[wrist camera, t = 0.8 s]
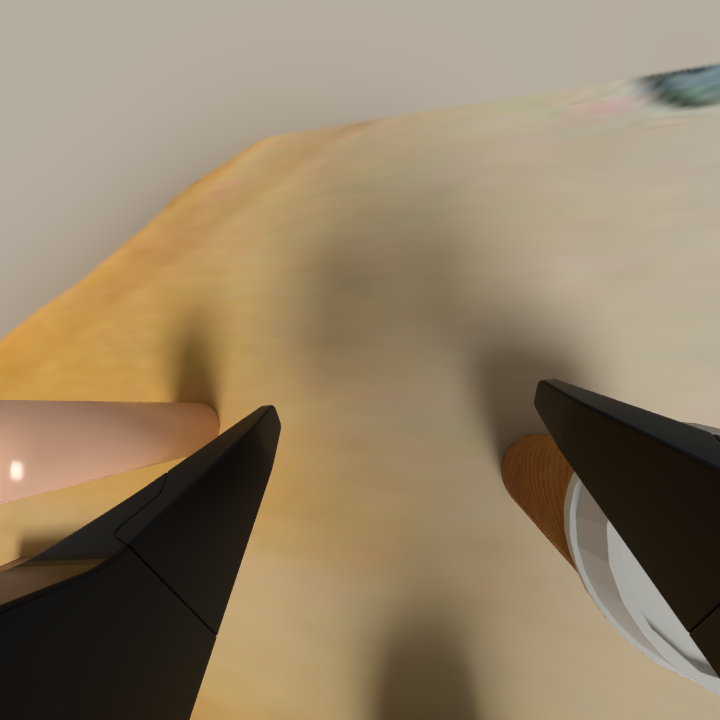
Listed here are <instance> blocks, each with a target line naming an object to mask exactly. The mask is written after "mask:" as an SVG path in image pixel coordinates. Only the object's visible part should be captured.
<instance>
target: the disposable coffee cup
mask: <svg viewBox="0 0 720 720" xmlns="http://www.w3.org/2000/svg"><path fill="white" fill-rule="evenodd" d="M682 423H685V422H682ZM685 424H688V425H691V426H694V427H696V428H699V429H702V430H705V431H708V432H711V433H712V434H717V435H720V429H718V428H714V427H710V426H705V425H701V424H696V423H685ZM502 476H503V481H504V484H505V487H506V489H507V491H508V492H509V494H510V495H511V497H512V498H513V499H514V501H515V502H516V503H517V504H518V505H519V506H520V507H521V508H522V509H523V511H524V512H525V513H526V514H527V515H528V516H529V517H530V519H531V520H532V521H533V522H534V523H535V524H536V526H537V527H538V528H539V529H540V530H541V532H542V533H543V534H544V535H545V536H546V537H547V538H548V539H549V540H550V542H551V543H552V544H553V545H554V546H555V547H556V549H557V550H558V551H559V552H560V553H561V554H562V555H563V557H564V558H565V559H566V560H567V561H568V562H569V563H570V564H571V565H572V567H573V568H574V569H575V570H576V571H577V573H578V574H579V576H580V578H581V580H582V583H583V585H584V587H585V589H586V591H587V592H588V594H589V595H590V596H591V598H592V599H593V601H594V602H595V604H596V605H597V607H598V608H599V609H600V611H601V612H602V614H603V615H604V617H605V618H606V619H607V620H608V621H609V622H610V623H611V624H612V626H613V627H614V628H615V629H616V630H617V631H618V632H619V633H620V634H621V635H622V636H623V637H624V638H625V639H626V640H627V641H628V642H629V643H630V644H631V645H633V646H634V647H635V648H637V649H638V650H639V651H641V652H642V653H643V654H644V655H646V656H647V657H648V658H650V659H651V660H652V661H654V662H656V663H658V664H659V665H661V666H663V667H665V668H667V669H668V670H670V671H672V672H674V673H676V674H678V675H681V676H683V677H686V678H688V679H691V680H693V681H695V682H696V683H698V684H699V685H701V686H702V687H704V688H705V689H707V690H709V691H712V692H714V693H716V694H718V695H720V678H719V677H718V675H717V674H716V673H715V671H714V670H713V668H712V667H711V665H710V664H709V663H708V661H707V660H706V658H705V657H704V656H703V654H702V653H701V651H700V650H699V648H698V647H697V646H696V644H695V643H694V641H693V640H692V638H691V637H690V636H689V632H687V631H686V629H685V628H684V627H683V625H682V624H681V622H680V621H679V620H678V618H677V617H676V615H675V614H674V612H673V611H672V610H671V608H670V607H669V605H668V604H667V602H666V601H665V600H664V598H663V597H662V595H661V594H660V593H659V591H658V590H657V588H656V587H655V585H654V584H653V583H652V581H651V580H650V578H649V577H648V575H647V574H646V573H645V571H644V570H643V568H642V567H641V565H640V564H639V563H638V561H637V560H636V558H635V557H634V556H633V554H632V553H631V551H630V550H629V548H628V547H627V546H626V544H625V543H624V541H623V540H622V538H621V537H620V536H619V534H618V533H617V531H616V530H615V529H614V527H613V526H612V524H611V523H610V521H609V520H608V519H607V517H606V516H605V514H604V513H603V511H602V510H601V509H600V507H599V506H598V504H597V503H596V502H595V500H594V499H593V497H592V496H591V494H590V493H589V492H588V490H587V489H586V487H585V486H584V484H583V483H582V482H581V480H580V479H579V477H578V476H577V475H576V473H575V472H574V470H573V469H572V467H571V466H570V465H569V463H568V462H567V460H566V459H565V457H564V456H563V455H562V453H561V452H560V450H559V449H558V447H557V445H556V444H555V442H554V440H553V438H552V437H551V435H550V434H531V435H527V436H524V437H522V438H520V439H518V440H517V441H515V442H514V443H513V444H512V445H511V446H510V447H509V449H508V450H507V452H506V454H505V457H504V459H503V465H502Z"/></svg>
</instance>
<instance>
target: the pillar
mask: <svg viewBox="0 0 720 720" xmlns="http://www.w3.org/2000/svg"><path fill="white" fill-rule="evenodd" d="M218 433H219V419H218V416H217V414H216V412H215V411H214V409H213V408H212V407H210V406H209V405H207V404H204V403H180V402H104V401H28V400H0V504H3V503H7V502H11V501H15V500H19V499H23V498H27V497H31V496H35V495H39V494H43V493H47V492H51V491H54V490H58V489H62V488H66V487H70V486H74V485H78V484H82V483H86V482H90V481H94V480H98V479H102V478H106V477H110V476H113V475H117V474H121V473H125V472H129V471H133V470H137V469H141V468H145V467H149V466H153V465H157V464H161V463H165V462H168V461H172V460H176V459H180V458H184V457H188V456H191V455H192V454H193V453H195V452H196V451H198V450H199V449H201V448H202V447H204V446H205V445H206V444H208V443H209V442H211V441H212V440H214V439H215V438H217V436H218Z"/></svg>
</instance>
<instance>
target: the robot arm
mask: <svg viewBox="0 0 720 720" xmlns="http://www.w3.org/2000/svg"><path fill="white" fill-rule="evenodd" d="M534 404H535V408H536V410H537V411H538V413H539V415H540V417H541V419H542V420H543V422H544V424H545V426H546V428H547V429H548V431H549V433H550V435H551V437H552V438H553V440H554V442H555V444H556V445H557V447H558V449H559V450H560V452H561V453H562V455H563V456H564V457H565V459H566V460H567V462H568V463H569V465H570V466H571V467H572V469H573V470H574V472H575V473H576V475H577V476H578V477H579V479H580V480H581V482H582V483H583V484H584V486H585V487H586V489H587V490H588V492H589V493H590V494H591V496H592V497H593V499H594V500H595V502H596V503H597V504H598V506H599V507H600V509H601V510H602V511H603V513H604V514H605V516H606V517H607V519H608V520H609V521H610V523H611V524H612V526H613V527H614V529H615V530H616V531H617V533H618V534H619V536H620V537H621V538H622V540H623V541H624V543H625V544H626V546H627V547H628V548H629V550H630V551H631V553H632V554H633V556H634V557H635V558H636V560H637V561H638V563H639V564H640V565H641V567H642V568H643V570H644V571H645V573H646V574H647V575H648V577H649V578H650V580H651V581H652V583H653V584H654V585H655V587H656V588H657V590H658V591H659V593H660V594H661V595H662V597H663V598H664V600H665V601H666V602H667V604H668V605H669V607H670V608H671V610H672V611H673V612H674V614H675V615H676V617H677V618H678V620H679V621H680V622H681V624H682V625H683V627H684V628H685V629H686V631H687V632H689V636H690V637H691V638H692V640H693V641H694V643H695V644H696V646H697V647H698V648H699V650H700V651H701V653H702V654H703V656H704V657H705V658H706V660H707V661H708V663H709V664H710V665H711V667H712V668H713V670H714V671H715V673H716V674H717V675H718V677H719V678H720V435H717V434H712V433H711V432H708V431H705V430H702V429H699V428H696V427H694V426H691V425H688V424H685V423H682V422H679V421H676V420H673V419H670V418H667V417H664V416H661V415H659V414H656V413H653V412H650V411H647V410H644V409H641V408H638V407H635V406H632V405H629V404H626V403H623V402H621V401H618V400H615V399H612V398H609V397H606V396H603V395H600V394H597V393H594V392H591V391H588V390H586V389H583V388H580V387H577V386H574V385H571V384H568V383H565V382H562V381H559V380H556V379H546V380H541V381H539V382H538V385H537V390H536V395H535V399H534ZM280 430H281V423H280V420H279V417H278V414H277V412H276V409H275V407H274V406H273V405H267V406H261V407H260V408H258V409H257V410H255V411H254V412H252V413H251V414H250V415H248V416H247V417H245V418H244V419H242V420H241V421H240V422H238V423H237V424H235V425H234V426H232V427H231V428H229V429H228V430H227V431H225V432H224V433H222V434H221V435H219V436H218V437H217V438H215V439H214V440H212V441H211V442H209V443H208V444H206V445H205V446H204V447H202V448H201V449H199V450H198V451H196V452H195V453H193V454H192V455H191V456H189V457H188V458H186V459H185V460H183V461H182V462H181V463H179V464H178V465H176V466H175V467H173V468H172V469H170V470H169V471H168V473H165V474H163V475H162V476H160V477H159V478H157V479H156V480H155V481H153V482H152V483H150V484H149V485H147V486H146V487H144V488H143V489H141V490H140V491H138V492H137V493H135V494H134V495H132V496H131V497H129V498H128V499H126V500H125V501H123V502H122V503H120V504H118V505H117V506H115V507H114V508H112V509H111V510H109V511H108V512H106V513H104V514H103V515H101V516H100V517H98V518H96V519H95V520H93V521H92V522H90V523H89V524H87V525H85V526H84V527H82V528H81V529H79V530H77V531H76V532H74V533H73V534H71V535H69V536H68V537H66V538H65V539H63V540H62V541H60V542H58V543H57V544H55V545H54V546H52V547H50V548H49V549H47V550H45V551H44V552H42V553H40V554H39V555H37V556H35V557H33V558H31V559H29V560H27V561H25V562H23V563H21V564H19V565H16V566H14V567H12V568H9V569H7V570H4V571H1V572H0V720H189V719H190V716H191V713H192V710H193V707H194V704H195V701H196V698H197V695H198V692H199V689H200V686H201V683H202V680H203V677H204V674H205V671H206V668H207V665H208V662H209V659H210V656H211V653H212V650H213V647H214V644H215V641H216V635H217V634H218V631H219V628H220V625H221V622H222V619H223V616H224V613H225V610H226V607H227V604H228V601H229V598H230V595H231V592H232V589H233V586H234V583H235V580H236V577H237V574H238V571H239V568H240V565H241V562H242V559H243V556H244V553H245V549H246V546H247V543H248V540H249V537H250V534H251V531H252V528H253V525H254V522H255V519H256V516H257V513H258V510H259V507H260V504H261V501H262V498H263V495H264V492H265V489H266V486H267V483H268V480H269V477H270V474H271V471H272V467H273V463H274V459H275V454H276V449H277V445H278V440H279V435H280Z"/></svg>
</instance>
